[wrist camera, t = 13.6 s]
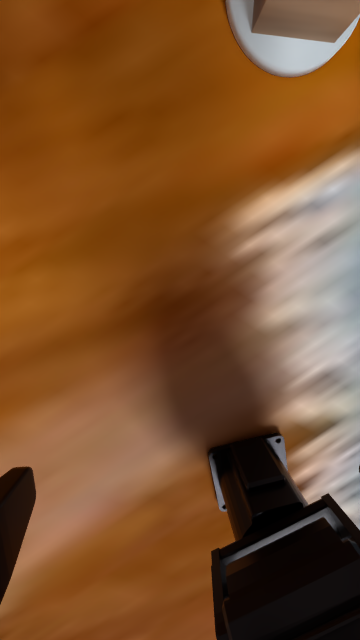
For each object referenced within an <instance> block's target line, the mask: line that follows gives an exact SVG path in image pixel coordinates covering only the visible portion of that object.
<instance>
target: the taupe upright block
mask: <svg viewBox="0 0 360 640" xmlns="http://www.w3.org/2000/svg"><path fill="white" fill-rule="evenodd" d="M359 14H360V0H254V7H253V19H252V32H251V33H257V34H265V35H273V36H281V37H289V38H297V39H305V40H313V41H321V42H329V43H335V42H336V41H337V39H338V38H339V37H340V36H341V35H342V34H343V33H344V31H345V30H346V29H347V28H348V27H349V26H350V24H351V23H352V22H353V21H354V20H355V19H356V18H357V16H358V15H359Z"/></svg>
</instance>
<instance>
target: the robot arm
mask: <svg viewBox="0 0 360 640" xmlns="http://www.w3.org/2000/svg"><path fill="white" fill-rule="evenodd" d="M278 438H279V439H278ZM276 439H278V440H276ZM213 454H216V455H213ZM208 457H209V461H210V466H211V471H212V476H213V481H214V486H215V491H216V496H217V501H218V505H219V509H220V510H221V511H227V513H228V516H229V520H230V523H231V526H232V530H233V533H234V537H235V540H236V541H235V542H233V543H231V544H229V545H227V546H225V547H223V548H221V549H219V548H217V549H215V550H213V551H211V556H212V566H211V571H212V586H213V601H214V617H215V632H216V638H217V640H360V530H359V529H358V528H357V527H356V525H355V524H354V523H353V522H352V521H351V520H350V518H349V517H348V516H347V515H346V514H345V512H344V511H343V510H342V509H341V508H340V506H339V505H338V504H337V503H336V502H335V501H334V499H333V498H332V497H331V496H330V495H329V494H326V495H324V496H322V497H321V498H322V499H320V500H318V501H316V502H314V503H312V504H309V505H308V503H307V502H306V500H305V498H304V497H303V495H302V494H301V492H300V490H299V489H298V487H297V486H296V484H295V482H294V481H293V479H292V477H291V476H290V474H289V473H288V470H287V461H286V452H285V443H284V438H283V436H282V435H281V434H280V433H273V434H269V435H265V436H260V437H256V438H252V439H248V440H244V441H240V442H236V443H232V444H228V445H223V446H219V447H215V448H212V449H210V450H209V452H208ZM359 472H360V466H359ZM35 500H36V489H35V482H34V476H33V470H32V468H31V467H15V468H12V469H11V470H9V471H8V472H7V473H5V474H4V475H3V476H1V477H0V604H1V602H2V599H3V597H4V594H5V592H6V589H7V587H8V584H9V581H10V579H11V576H12V573H13V570H14V567H15V564H16V561H17V558H18V555H19V551H20V548H21V545H22V542H23V539H24V536H25V532H26V529H27V526H28V523H29V520H30V517H31V514H32V510H33V507H34V504H35Z"/></svg>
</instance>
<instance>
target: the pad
mask: <svg viewBox="0 0 360 640" xmlns="http://www.w3.org/2000/svg"><path fill="white" fill-rule="evenodd" d="M225 1H226V10H227V16H228V20H229V23H230V27H231V30H232V32H233V35H234V37H235V39H236V41H237V43H238V45H239V46H240V48H241V49H242V51H243V52H244V54H245V55H246V56H247V57H248V58H249V59H250V60H251V61H252V62H253V63H254V64H255V65H256V66H258V67H259V68H261V69H262V70H264V71H266V72H268V73H270V74H273V75H276V76H280V77H299V76H302V75H306V74H309V73H311V72H313V71H315V70H317V69H318V68H320V67H321V66H323V65H324V64H325V63H326V62H328V61H329V60H330V59H331V58H332V56H333V55H334V54H335V53H336V52H337V51H338V50H339V49H340V48H341V47H342V46H343V45H344V43H345V42H346V41H347V39H348V38H349V37H350V35H351V33H352V32H353V30H354V28H355V27H356V24H357V22H358V20H359V18H360V14H359V15H358V16H357V18H356V19H355V20H354V21H353V22H352V23H351V24H350V26H349V27H348V28H347V29H346V30H345V31H344V33H343V34H342V35H341V36H340V37H339V38H338V39H337V41H336V42H335V43H329V42H321V41H313V40H305V39H297V38H289V37H281V36H273V35H265V34H257V33H251V32H252V19H253V7H254V0H225Z"/></svg>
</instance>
